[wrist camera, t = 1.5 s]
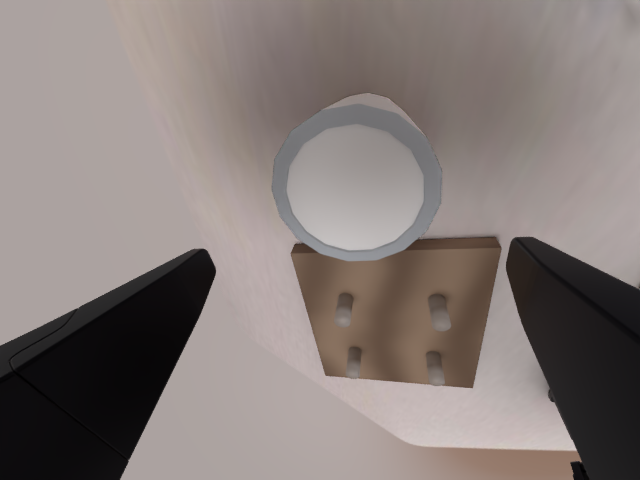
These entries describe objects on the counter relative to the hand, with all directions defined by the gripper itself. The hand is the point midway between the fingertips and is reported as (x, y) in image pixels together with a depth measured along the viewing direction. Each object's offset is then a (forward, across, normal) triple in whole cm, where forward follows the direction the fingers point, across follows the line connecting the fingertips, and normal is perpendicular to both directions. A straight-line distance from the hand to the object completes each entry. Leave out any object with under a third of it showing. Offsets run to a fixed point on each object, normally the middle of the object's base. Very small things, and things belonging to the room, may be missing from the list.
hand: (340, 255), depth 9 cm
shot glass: (+11, 0, 0) cm, 11 cm away
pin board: (+11, -1, +15) cm, 18 cm away
